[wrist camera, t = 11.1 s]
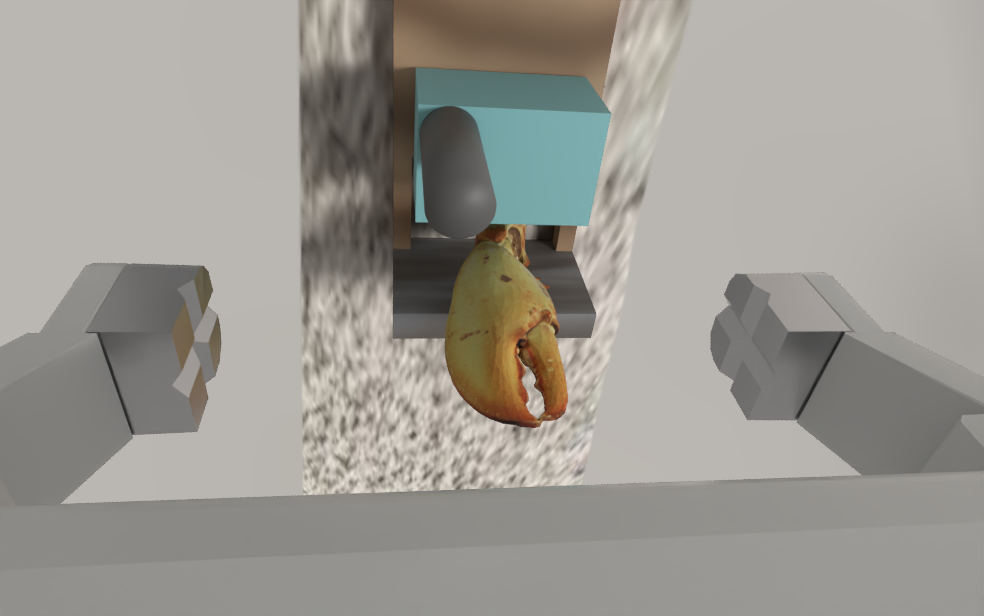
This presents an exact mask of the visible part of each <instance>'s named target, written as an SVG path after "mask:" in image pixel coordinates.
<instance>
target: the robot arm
mask: <svg viewBox="0 0 984 616" xmlns="http://www.w3.org/2000/svg"><path fill="white" fill-rule="evenodd" d="M212 292H213V289H212V285H211V281H210V276H209V272H208V271H207V270H206V269H205V267H204V266H190V265H160V264H127V263H93V264H90V265H86V266H85V268H84V269H83V270H82V272H81V273H80V275H79V276H78V278H77V279H76V280H75V282H74V283H73V285H72V286H71V288H70V289H69V291H68V292H67V294H66V295H65V297H64V298H63V299H62V301H61V303H60V304H59V305H58V307H57V308H56V310H55V311H54V313H53V314H52V315H51V317H50V318H49V320H48V321H47V323H46V324H45V326H44V327H43V329H42V330H41V332H40V333H27V334H25V335H23V336H21V337H19V338H17V339H15V340H13V341H11V342H9V343H7V344H5V345H3V346H2V347H0V616H984V377H983V376H981V375H979V374H977V373H975V372H973V371H971V370H969V369H967V368H965V367H963V366H961V365H958V364H956V363H955V362H953V361H950V360H948V359H946V358H944V357H942V356H940V355H938V354H936V353H934V352H932V351H930V350H928V349H926V348H924V347H922V346H920V345H918V344H916V343H914V342H912V341H910V340H908V339H906V338H904V337H901V336H900V335H898V334H896V333H893V332H884V331H883V330H882V329H881V328H880V327H879V326H878V325H877V324H876V322H875V321H874V320H873V319H872V318H871V317H870V316H869V315H868V314H867V313H866V312H865V311H864V310H863V308H862V307H861V306H860V305H859V304H858V303H857V302H856V301H855V300H854V299H853V298H852V297H851V296H850V295H849V293H848V292H847V291H846V290H845V289H844V288H843V287H842V286H841V285H840V284H839V283H838V282H837V281H836V280H835V278H834V277H833V276H831V275H829V274H826V273H824V272H815V273H791V274H790V273H786V274H785V273H784V274H735V276H734V277H733V278H732V279H731V280H730V282H729V284H728V287H727V289H726V291H725V294H724V295H725V297H726V299H727V302H728V304H729V306H728V307H727V308H725V309H724V310H723V311H722V312H721V313H720V314H718V315H717V316H716V318H715V321H714V324H713V327H712V330H711V352H712V356H713V360H714V362H715V364H716V366H717V367H718V369H719V371H720V372H722V373H723V374H725V375H726V376H728V377H729V378H731V379H732V380H734V382H733V384H732V387H731V392H732V394H733V396H734V398H735V399H736V401H737V403H738V404H739V406H740V408H741V409H742V411H743V413H744V415H745V417H746V418H747V420H798V421H797V423H798V424H799V425H800V426H802V427H803V428H804V429H805V430H807V431H808V432H809V433H810V434H812V435H813V436H814V437H815V438H817V439H818V440H819V441H820V442H821V443H823V444H824V445H825V446H826V447H828V448H829V449H830V450H832V451H833V452H834V453H835V454H837V455H838V456H839V457H840V458H841V459H843V460H844V461H845V462H846V463H848V464H849V465H850V466H851V467H853V468H854V469H855V470H856V471H858V472H859V473H860V474H861V476H832V477H803V478H777V479H776V478H774V479H747V480H746V479H744V480H717V481H689V482H659V483H658V482H657V483H629V484H601V485H574V486H547V487H521V488H494V489H467V490H440V491H413V492H385V493H357V494H329V495H301V496H273V497H245V498H217V499H189V500H161V501H133V502H108V503H107V502H105V503H77V504H61V503H62V502H63V501H64V500H65V499H66V498H67V497H68V496H69V495H70V494H71V493H73V492H74V491H75V490H76V489H77V488H78V487H79V486H80V485H81V484H83V483H84V482H85V481H86V480H87V479H88V478H89V477H90V476H91V475H93V474H94V473H95V472H96V471H97V470H98V469H99V468H100V467H101V466H102V465H104V464H105V463H106V462H107V461H108V460H109V459H110V458H111V457H112V456H114V454H116V453H117V452H118V451H119V450H120V449H121V448H122V447H123V446H125V445H126V444H127V443H128V442H129V441H130V440H131V439H132V438H133V436H132V435H139V434H140V435H141V434H161V433H183V432H197V431H198V428H199V425H200V422H201V419H202V415H203V412H204V409H205V406H206V403H207V400H208V395H207V390H206V385H205V383H206V382H208V381H209V380H211V379H212V378H213V377H215V375H216V372H217V368H218V365H219V361H220V351H221V331H220V324H219V319H218V315H217V314H216V313H215V312H214V311H213V310H212V309H210V308H209V307H208V306H207V305H208V302H209V299H210V297H211V294H212Z"/></svg>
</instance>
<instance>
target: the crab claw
mask: <svg viewBox="0 0 984 616" xmlns="http://www.w3.org/2000/svg"><path fill="white" fill-rule="evenodd" d="M526 226H527V225H524V224H490V225H489V226H488V227H487V228H486V229H485V230H484V231H482V232H481V233H479V234H477V235H476V240H475V246H474V249H473V250H472V252H471V253H470V254H469V256H468V257H467V258H466V260H465V261H464V263H463V265H462V266H461V268H460V270H459V273H458V275H457V278H456V282H455V285H454V289H453V296H452V302H451V306H450V310H449V314H448V318H447V322H446V329H445V357H446V362H447V367H448V371H449V374H450V376H451V379H452V382H453V384H454V386H455V387H456V389H457V391H458V392H459V394H460V395H461V397H462V398H463V399H464V400H465V401H466V402H467V403H468V404H469V405H470V406H471V407H473V408H474V409H475V410H476V411H478V412H479V413H480V414H482V415H484V416H486V417H487V418H489V419H492V420H494V421H497V422H500V423H503V424H511V425H517V426H520V427H531V428H536V427H540V425H541V423H542V421H553V420H557V419H558V418H560V417H561V416H562V415H563V414H564V413H565V410H566V405H567V402H568V394H567V386H566V379H565V374H564V369H563V365H562V361H561V358H560V354H559V350H558V345H557V341H556V338H555V336H556V335H557V334H558V332H559V323H558V321H557V314H556V310H555V308H554V305H553V302H552V300H551V298H550V296H549V294H548V292H547V289H548V288H550V287H549V286H547V285H544V284H543V283H541V282H539V280H540V279H541V278H538V277H534V276H533V275H532V274H531V273H530V271H529V270H528V269H527V268H526V267H527V266H529V265H530V264H531V263H530V261H529V259H528V257H527V255H526V252H525V231H526ZM517 355H518V356H519V357H518V356H517ZM521 361H522V363H523V364H524V365H525V366H527V367H530V370H532V372H533V374H534V375H535V378H536V382H535V384H534V387H535V388H536V389H537V390H539V391H540V392H541V393H542V396H543V398H544V405H545V407H544V408H545V412H544V413H543V414H542V415H541V416H540V417H539V419H537V418H535V417H534V416H533V415H531V414H530V413H529V411H528V409H527V407H526V405H525V404H526V403H527V402H528V401H529V397H528V394H527V391H526V389H525V388H524V387H523V382H522V378H523V377H524V375H525V373H526V368H525V366H524V365H523V364H522V363H521Z"/></svg>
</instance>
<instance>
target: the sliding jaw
mask: <svg viewBox="0 0 984 616" xmlns="http://www.w3.org/2000/svg"><path fill="white" fill-rule="evenodd" d="M610 117H611V113H610V111H609V110H608V108H607V107H606V105H605V104H604V102H603V101H602V99H601V98H600V96H599V95H598V94H597V92H596V91H595V89H594V88H593V86H592V85H591V83H590V82H589V80H588V79H587V77H577V76H559V75H541V74H523V73H505V72H487V71H469V70H451V69H434V68H416V77H415V126H414V199H415V222H428V223H429V224H430V225H431V227H432V228H433V229H434V230H436V231H437V232H438V233H440V234H442V235H444V236H446V237H450V238H456V239H463V238H469V237H472V236H475V235H477V234H479V233H481V232H482V231H484V230H485V229H486V228H487V227H488V226H489V225H490V224H524V225H570V226H588V224H589V219H590V215H591V210H592V205H593V200H594V195H595V190H596V185H597V180H598V176H599V171H600V166H601V161H602V156H603V151H604V146H605V141H606V137H607V132H608V127H609V122H610Z"/></svg>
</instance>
